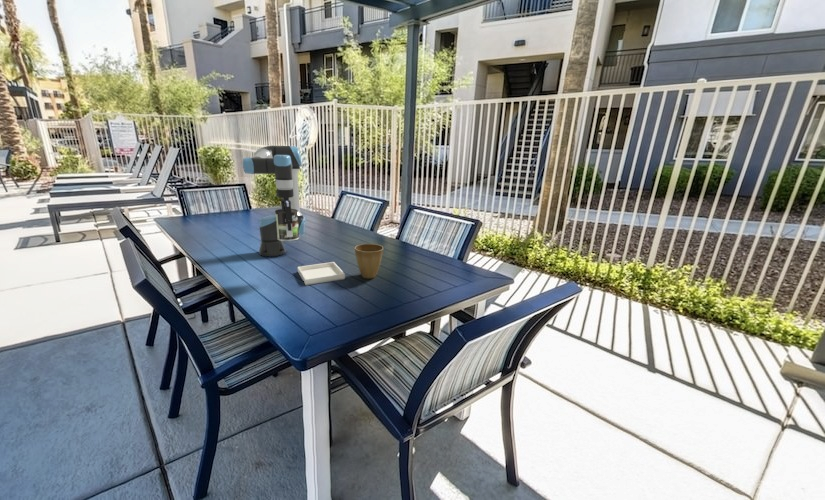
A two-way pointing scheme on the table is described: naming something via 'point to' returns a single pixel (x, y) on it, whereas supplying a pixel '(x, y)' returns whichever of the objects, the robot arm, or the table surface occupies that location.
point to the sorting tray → (320, 273)
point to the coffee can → (282, 226)
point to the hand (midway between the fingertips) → (288, 234)
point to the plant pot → (368, 259)
